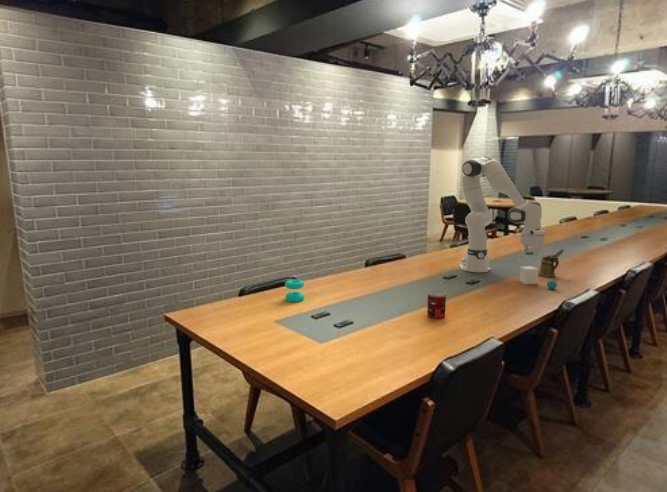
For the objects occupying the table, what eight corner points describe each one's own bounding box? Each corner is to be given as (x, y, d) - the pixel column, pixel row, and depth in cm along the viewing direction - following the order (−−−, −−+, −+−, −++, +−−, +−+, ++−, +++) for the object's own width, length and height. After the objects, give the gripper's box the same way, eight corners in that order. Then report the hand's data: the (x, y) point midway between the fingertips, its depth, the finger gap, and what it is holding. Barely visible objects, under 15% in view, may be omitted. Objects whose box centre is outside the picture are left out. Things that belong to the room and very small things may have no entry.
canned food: (425, 313, 205) (425, 291, 203) (441, 313, 206) (442, 290, 204) (430, 319, 198) (430, 296, 196) (447, 318, 199) (448, 295, 196)
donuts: (292, 277, 234) (307, 280, 228) (293, 295, 236) (308, 298, 230) (280, 282, 225) (296, 284, 220) (281, 300, 227) (296, 304, 222)
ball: (544, 287, 245) (545, 279, 244) (553, 287, 245) (554, 278, 244) (549, 290, 240) (550, 281, 239) (558, 290, 240) (559, 281, 239)
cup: (519, 281, 259) (520, 266, 257) (530, 280, 259) (532, 266, 258) (525, 284, 252) (526, 269, 250) (537, 284, 253) (538, 269, 251)
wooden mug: (556, 279, 261) (559, 250, 258) (535, 275, 272) (537, 246, 269) (564, 277, 266) (567, 248, 263) (543, 273, 277) (545, 245, 274)
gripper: (517, 227, 260) (516, 250, 262) (536, 232, 240) (534, 257, 242) (528, 227, 260) (527, 250, 263) (547, 232, 240) (545, 257, 243)
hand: (530, 254), depth 252 cm, fingers open, 8 cm apart
